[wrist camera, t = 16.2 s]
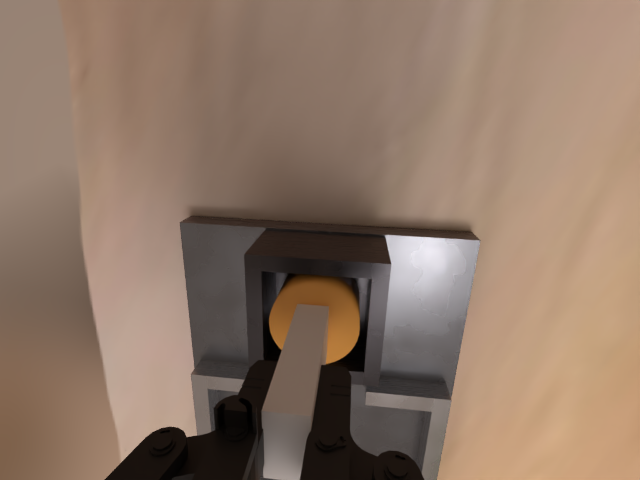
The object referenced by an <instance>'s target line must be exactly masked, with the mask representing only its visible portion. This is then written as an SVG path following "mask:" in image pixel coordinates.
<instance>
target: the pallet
mask: <svg viewBox="0 0 640 480" xmlns="http://www.w3.org/2000/svg"><path fill="white" fill-rule="evenodd" d="M180 229H181V239H182V249H183V259H184V269H185V278H186V288H187V298H188V308H189V318H190V327H191V337H192V347H193V357H194V367H195V369H194V370H193V372H192V373H191V380H192V390H193V399H194V408H195V418H196V427H197V436H198V435H203V434H207V433H210V432H212V431H214V430H215V421H214V409H213V408H214V407H215V406H216V404H217V403H218V402H219V401H221V400H222V399H224V398H226V397H229V396H232V395H238V393H239V391H240V389H241V388H242V384H243V382H244V380H245V377H246V375H247V373H248V371H249V368H250V367H251V366H252V365H253V364H254V363H256V362H257V361H258V360H266V361H277V362H278V360H279V357H280V354H281V351H282V350H281V349H280V348H279V347H278V346H277V344H276V343H275V341H274V339H273V337H272V335H271V332H270V327H269V317H270V312H271V310H272V307H273V305H274V303H275V301H276V299H277V296H278V294H279V292H280V290H281V288H282V286H283V283H284V281H285V279H286V278H287V276H288V275H289V274H290V273H294V274H308V275H322V276H336V277H350V278H353V279H354V280H355V282H356V284H357V286H358V290H359V295H360V331H359V337H358V340H357V342H356V344H355V346H354V347H353V349H352V350H351V351H350V352H349V353H348V354H347V355H346V356H344V357H343V358H341V359H340V360H337V361H335V362H332V363H328V364H326V365H329V366H340V367H347V369H348V371H349V373H350V375H351V377H352V378H351V413H350V432H351V436H352V438H353V440H354V442H355V443H356V444H357V445H358V446H359V447H360V448H361V449H363V450H365V451H366V452H368V453H370V454H373V455H375V456H379V455H380V454H381V453H383V452H386V451H389V450H391V451H399V452H402V453H404V454H407V455H408V456H409V457H410V458H412V459H413V460H414V461H415V462H416V464H417V465H418V467H419V469H420V471H421V473H422V475H423V478H424V480H437V476H438V470H439V465H440V459H441V454H442V449H443V443H444V438H445V433H446V427H447V422H448V417H449V411H450V406H451V401H452V400H451V396H452V391H453V386H454V380H455V375H456V369H457V364H458V359H459V353H460V348H461V343H462V337H463V332H464V326H465V321H466V316H467V310H468V305H469V300H470V294H471V289H472V283H473V278H474V273H475V267H476V262H477V257H478V251H479V246H480V240H479V239H478V238H477V237H476V236H475V235H474V234H473V233H472V232H459V231H442V230H425V229H408V228H390V227H373V226H356V225H338V224H321V223H304V222H287V221H269V220H252V219H235V218H218V217H200V216H190V217H189V218H187V219H185V220H183V221H182V222H180ZM260 480H277V479H269V478H263V470H262V474H261V477H260Z"/></svg>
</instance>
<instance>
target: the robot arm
mask: <svg viewBox="0 0 640 480" xmlns="http://www.w3.org/2000/svg"><path fill="white" fill-rule="evenodd" d="M328 317H329V306H319V305H306V304H297V306H296V309H295V312H294V315H293V318H292V321H291V324H290V327H289V330H288V333H287V336H286V339H285V342H284V345H283V348H282V351H281V354H280V357H279V360H278V362H277V361H266V360H258V361H257V362H256V363H254V364H253V365H252V366H251V367H250V368H249V371H248V373H247V375H246V377H245V380H244V382H243V384H242V388H241V389H240V391H239V393H238V395H232V396H229V397H226V398H224V399H222V400H221V401H219V402H218V403H217V404H216V406H215V407H214V408H213V409H214V421H215V430H214V431H212V432H210V433H207V434H203V435H198V436H192V437H186V435H185V433H184V431H182V430H181V429H179V428H176V427H166V428H161V429H159V430H157V431H154V432H152V433H151V434H150V435H149V436H147V437H146V438H145V439H144V440H143V441H142V442H141V443H140V444H139V445H138V446H137V447H136V448H135V449H134V450H133V451H132V452H131V453H130V454H129V455H128V456H127V457H126V458H125V459H124V460H123V461H122V462H121V463H120V464H119V466H118V467H117V468H116V469H115V470H114V471H113V472H112V473H111V474H110V475H109V476H108V477H107V478H106V479H105V480H260V477H261V474H262V470H263V478H269V479H277V480H424V478H423V475H422V473H421V471H420V469H419V467H418V465H417V464H416V462H415V461H414V460H413V459H412V458H410V457H409V456H408V455H407V454H404V453H402V452H399V451H391V450H389V451H386V452H383V453H381V454H380V455H379V456H375V455H373V454H370V453H368V452H366V451H365V450H363V449H361V448H360V447H359V446H358V445H357V444H356V443H355V442H354V440H353V438H352V436H351V432H350V413H351V378H352V377H351V375H350V373H349V371H348V369H347V367H340V366H329V365H326V358H327V340H328Z"/></svg>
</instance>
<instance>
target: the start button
mask: <svg viewBox="0 0 640 480" xmlns="http://www.w3.org/2000/svg"><path fill="white" fill-rule="evenodd" d="M297 304H306V305H319V306H329V317H328V340H327V358H326V364H328V363H332V362H335V361H337V360H340V359H341V358H343V357H344V356H346V355H347V354H348V353H349V352H350V351H351V350H352V349H353V347H354V346H355V344H356V342H357V340H358V337H359V331H360V295H359V290H358V286H357V284H356V282H355V280H354V279H353V278H350V277H336V276H322V275H308V274H294V273H290V274H289V275H288V276H287V278H286V279H285V281H284V283H283V286H282V288H281V290H280V292H279V294H278V296H277V299H276V301H275V303H274V305H273V307H272V310H271V312H270V317H269V327H270V332H271V335H272V337H273V339H274V341H275V343H276V344H277V346H278V347H279V348H280V349H281V350H282V348H283V345H284V342H285V339H286V336H287V333H288V330H289V327H290V324H291V321H292V318H293V315H294V312H295V309H296V306H297Z"/></svg>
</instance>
